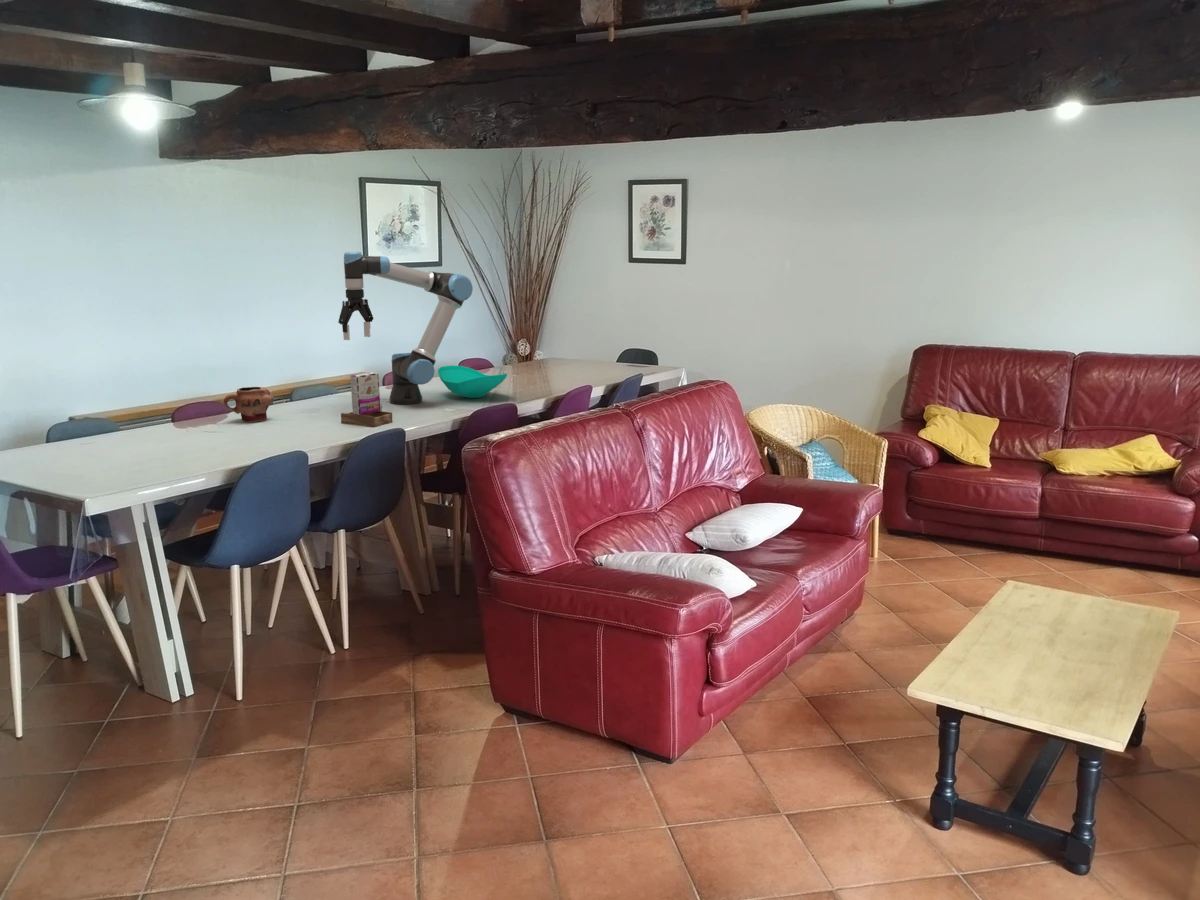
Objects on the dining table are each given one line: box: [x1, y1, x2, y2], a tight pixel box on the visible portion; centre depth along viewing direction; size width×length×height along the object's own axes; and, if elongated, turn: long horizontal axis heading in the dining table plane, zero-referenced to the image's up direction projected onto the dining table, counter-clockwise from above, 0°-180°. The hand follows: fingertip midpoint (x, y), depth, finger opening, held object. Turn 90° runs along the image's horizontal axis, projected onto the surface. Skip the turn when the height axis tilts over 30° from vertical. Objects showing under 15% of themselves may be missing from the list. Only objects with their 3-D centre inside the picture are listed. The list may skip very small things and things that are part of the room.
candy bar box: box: [349, 371, 381, 415], centre depth 381 cm, size 11×5×16 cm, turn 143°
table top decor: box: [437, 365, 508, 399], centre depth 444 cm, size 40×28×13 cm
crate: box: [340, 410, 393, 428], centre depth 383 cm, size 12×17×4 cm
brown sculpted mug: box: [223, 386, 275, 423], centre depth 382 cm, size 20×12×14 cm, turn 132°
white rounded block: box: [380, 397, 383, 411], centre depth 395 cm, size 6×6×8 cm
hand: (357, 338), depth 398 cm, fingers open, 13 cm apart
